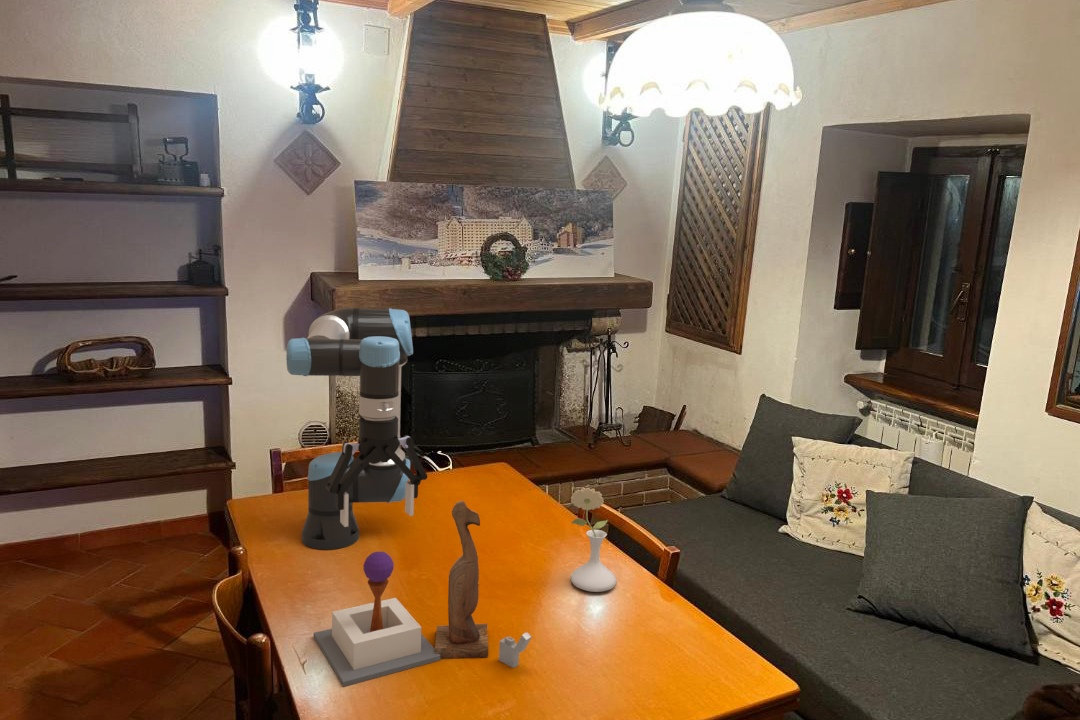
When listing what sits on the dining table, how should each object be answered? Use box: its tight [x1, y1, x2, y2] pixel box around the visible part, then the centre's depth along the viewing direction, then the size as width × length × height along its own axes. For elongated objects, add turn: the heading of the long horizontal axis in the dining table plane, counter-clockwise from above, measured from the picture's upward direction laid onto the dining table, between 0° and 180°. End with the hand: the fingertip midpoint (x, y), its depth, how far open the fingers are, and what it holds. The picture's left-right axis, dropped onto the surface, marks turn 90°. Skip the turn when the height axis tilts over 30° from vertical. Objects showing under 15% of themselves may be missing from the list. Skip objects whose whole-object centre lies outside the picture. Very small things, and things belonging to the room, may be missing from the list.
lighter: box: [498, 632, 532, 669], centre depth 159 cm, size 7×2×8 cm, turn 50°
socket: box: [313, 597, 441, 688], centre depth 162 cm, size 20×20×6 cm
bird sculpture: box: [434, 500, 489, 660], centre depth 163 cm, size 11×12×32 cm
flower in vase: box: [570, 487, 617, 593], centre depth 194 cm, size 13×11×25 cm
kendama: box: [363, 551, 395, 632], centre depth 161 cm, size 6×6×20 cm
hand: (377, 518), depth 158 cm, fingers open, 13 cm apart
